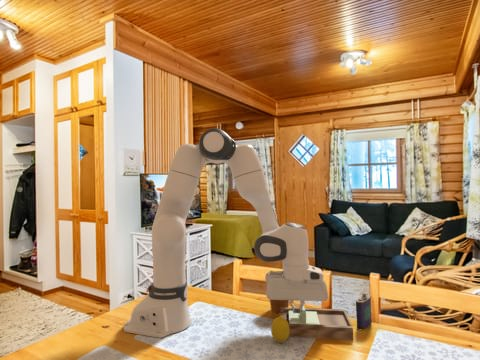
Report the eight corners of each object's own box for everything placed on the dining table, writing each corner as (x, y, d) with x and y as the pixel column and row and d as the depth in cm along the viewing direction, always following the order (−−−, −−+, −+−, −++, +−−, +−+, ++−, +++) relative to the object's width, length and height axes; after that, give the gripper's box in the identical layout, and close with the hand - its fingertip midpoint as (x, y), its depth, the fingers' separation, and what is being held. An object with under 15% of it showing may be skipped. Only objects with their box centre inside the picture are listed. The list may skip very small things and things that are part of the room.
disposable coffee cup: (274, 303, 122) (274, 273, 122) (296, 308, 116) (295, 277, 116) (262, 311, 114) (261, 279, 114) (284, 317, 108) (284, 284, 108)
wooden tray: (280, 336, 95) (280, 324, 95) (280, 316, 109) (280, 306, 109) (353, 339, 92) (353, 328, 92) (344, 319, 106) (343, 309, 106)
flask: (365, 318, 106) (364, 288, 106) (374, 321, 104) (373, 290, 104) (355, 328, 99) (354, 296, 100) (364, 331, 97) (363, 298, 98)
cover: (289, 326, 97) (289, 314, 97) (288, 312, 107) (288, 302, 107) (320, 327, 95) (319, 315, 96) (316, 313, 106) (316, 302, 106)
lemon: (289, 348, 88) (288, 321, 88) (270, 347, 89) (269, 319, 89) (290, 339, 94) (289, 313, 94) (272, 337, 95) (271, 311, 95)
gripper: (264, 273, 100) (265, 315, 100) (328, 274, 97) (329, 318, 97) (265, 268, 106) (266, 307, 106) (325, 269, 104) (326, 309, 103)
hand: (297, 312), depth 102 cm, fingers closed
